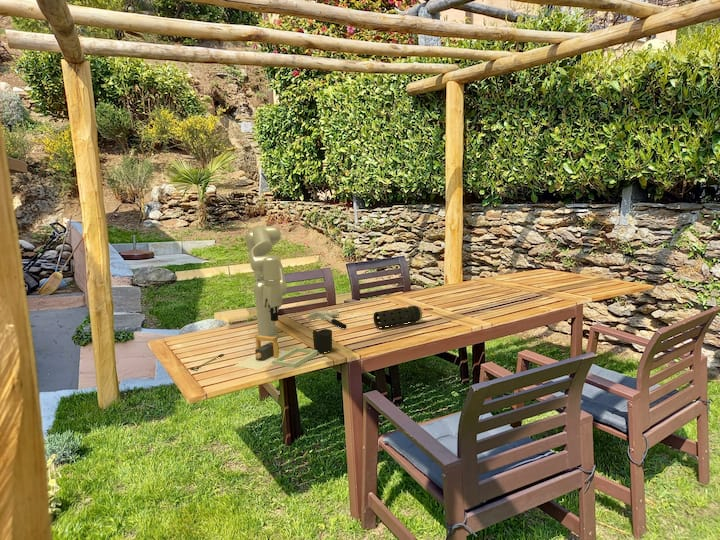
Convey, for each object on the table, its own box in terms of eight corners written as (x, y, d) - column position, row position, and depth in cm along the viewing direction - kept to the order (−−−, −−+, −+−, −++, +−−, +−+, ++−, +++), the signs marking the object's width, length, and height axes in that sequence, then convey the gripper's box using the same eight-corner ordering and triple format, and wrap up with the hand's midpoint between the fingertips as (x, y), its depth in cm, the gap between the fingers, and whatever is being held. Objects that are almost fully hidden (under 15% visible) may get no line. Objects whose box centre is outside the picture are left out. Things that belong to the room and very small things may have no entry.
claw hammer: (358, 320, 273) (335, 308, 299) (324, 326, 263) (303, 313, 288) (358, 329, 274) (335, 316, 300) (324, 335, 264) (303, 322, 289)
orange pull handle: (259, 353, 227) (258, 335, 226) (278, 356, 222) (277, 337, 221) (256, 355, 225) (255, 336, 224) (276, 357, 221) (274, 338, 219)
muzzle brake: (373, 327, 272) (372, 309, 270) (414, 320, 284) (413, 303, 282) (381, 331, 263) (381, 313, 262) (423, 324, 276) (423, 306, 274)
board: (268, 349, 236) (268, 348, 236) (291, 353, 230) (291, 351, 230) (233, 367, 213) (233, 365, 213) (258, 371, 207) (258, 369, 207)
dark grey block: (272, 351, 231) (272, 341, 230) (280, 352, 229) (279, 342, 229) (254, 360, 218) (253, 350, 218) (262, 361, 217) (261, 351, 216)
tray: (296, 352, 231) (296, 347, 231) (317, 355, 226) (317, 350, 226) (272, 365, 213) (272, 360, 213) (294, 369, 208) (294, 363, 208)
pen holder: (316, 348, 237) (315, 328, 235) (334, 348, 235) (333, 329, 234) (311, 354, 228) (310, 334, 226) (330, 354, 226) (329, 334, 225)
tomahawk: (201, 374, 209) (201, 371, 209) (189, 370, 211) (189, 368, 211) (232, 358, 228) (232, 355, 227) (221, 355, 230) (221, 353, 230)
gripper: (275, 280, 233) (277, 316, 236) (256, 285, 220) (258, 323, 222) (287, 280, 230) (289, 317, 232) (269, 286, 217) (271, 325, 219)
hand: (274, 320), depth 227 cm, fingers closed
